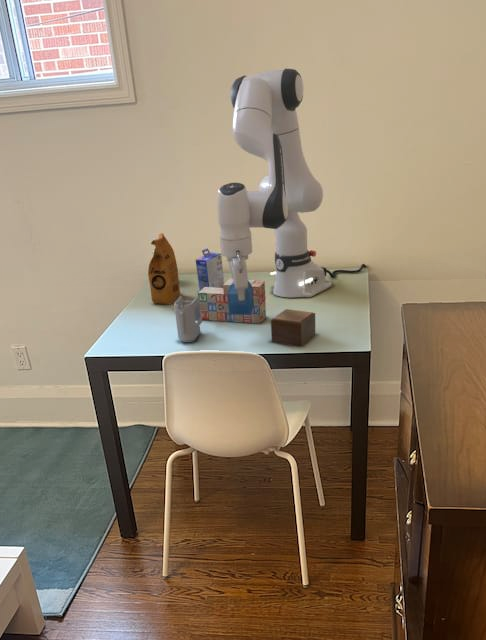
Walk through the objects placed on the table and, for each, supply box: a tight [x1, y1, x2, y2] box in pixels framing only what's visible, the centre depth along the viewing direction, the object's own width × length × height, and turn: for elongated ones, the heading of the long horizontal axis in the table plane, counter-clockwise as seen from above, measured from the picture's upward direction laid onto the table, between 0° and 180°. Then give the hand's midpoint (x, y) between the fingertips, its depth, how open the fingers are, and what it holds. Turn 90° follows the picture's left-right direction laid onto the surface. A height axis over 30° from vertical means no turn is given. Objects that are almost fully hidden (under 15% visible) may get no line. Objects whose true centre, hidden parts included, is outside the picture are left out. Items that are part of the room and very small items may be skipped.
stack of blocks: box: [197, 278, 267, 325], centre depth 218 cm, size 21×6×12 cm, turn 71°
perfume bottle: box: [228, 272, 254, 315], centre depth 194 cm, size 6×6×12 cm
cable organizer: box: [173, 295, 203, 343], centre depth 207 cm, size 7×12×12 cm, turn 168°
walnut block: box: [270, 308, 316, 347], centre depth 202 cm, size 10×10×7 cm
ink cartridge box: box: [195, 248, 225, 291], centre depth 246 cm, size 10×6×14 cm, turn 147°
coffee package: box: [147, 232, 181, 305], centre depth 237 cm, size 10×12×22 cm
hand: (240, 295), depth 195 cm, fingers closed on perfume bottle, 7 cm apart
